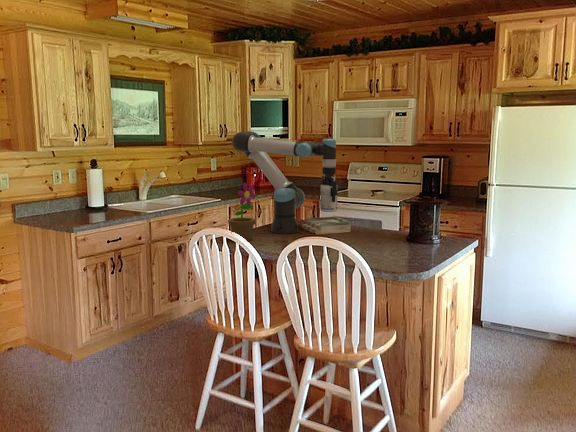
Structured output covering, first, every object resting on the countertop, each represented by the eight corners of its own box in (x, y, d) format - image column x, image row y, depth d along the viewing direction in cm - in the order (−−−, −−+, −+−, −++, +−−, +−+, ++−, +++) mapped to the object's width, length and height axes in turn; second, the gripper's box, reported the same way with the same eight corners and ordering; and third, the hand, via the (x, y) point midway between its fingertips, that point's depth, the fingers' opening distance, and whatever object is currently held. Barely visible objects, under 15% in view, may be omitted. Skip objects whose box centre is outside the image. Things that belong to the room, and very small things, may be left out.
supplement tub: (327, 209, 313) (327, 183, 311) (340, 211, 307) (341, 185, 304) (316, 211, 306) (316, 185, 304) (329, 213, 300) (330, 186, 297)
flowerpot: (241, 243, 272) (240, 183, 267) (222, 239, 282) (221, 181, 277) (261, 239, 282) (261, 181, 278) (243, 235, 292) (242, 179, 287)
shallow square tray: (301, 227, 313) (301, 218, 312) (334, 225, 321) (334, 216, 320) (316, 234, 295) (316, 224, 294) (350, 231, 302) (350, 222, 301)
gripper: (314, 165, 311) (314, 204, 315) (331, 168, 291) (331, 209, 295) (326, 165, 314) (326, 203, 318) (344, 168, 294) (343, 208, 297)
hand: (328, 206), depth 306 cm, fingers closed on supplement tub, 9 cm apart
